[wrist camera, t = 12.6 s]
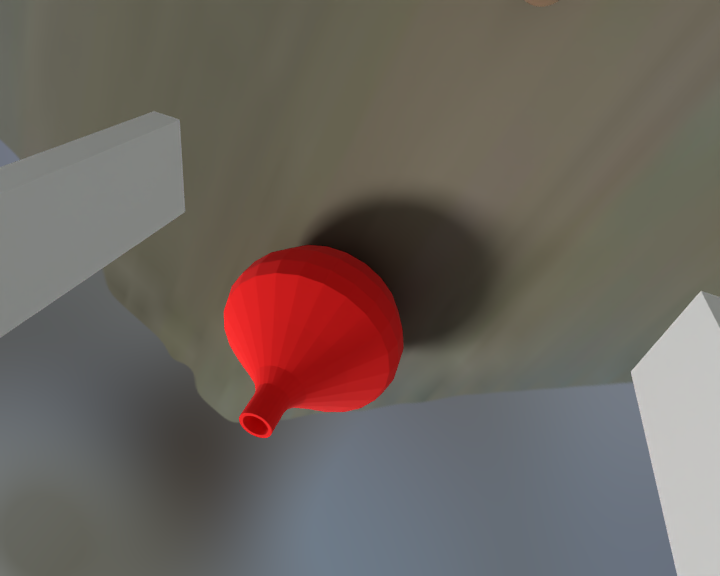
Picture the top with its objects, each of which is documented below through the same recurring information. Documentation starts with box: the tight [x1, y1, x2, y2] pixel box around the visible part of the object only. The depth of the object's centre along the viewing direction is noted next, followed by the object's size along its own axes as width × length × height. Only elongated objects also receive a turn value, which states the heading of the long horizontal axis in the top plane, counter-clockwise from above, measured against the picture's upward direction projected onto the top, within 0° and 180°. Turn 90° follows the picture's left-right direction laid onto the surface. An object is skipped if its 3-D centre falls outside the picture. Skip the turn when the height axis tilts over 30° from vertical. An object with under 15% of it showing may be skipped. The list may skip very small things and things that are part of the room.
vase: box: [224, 245, 403, 438], centre depth 43 cm, size 18×18×19 cm
